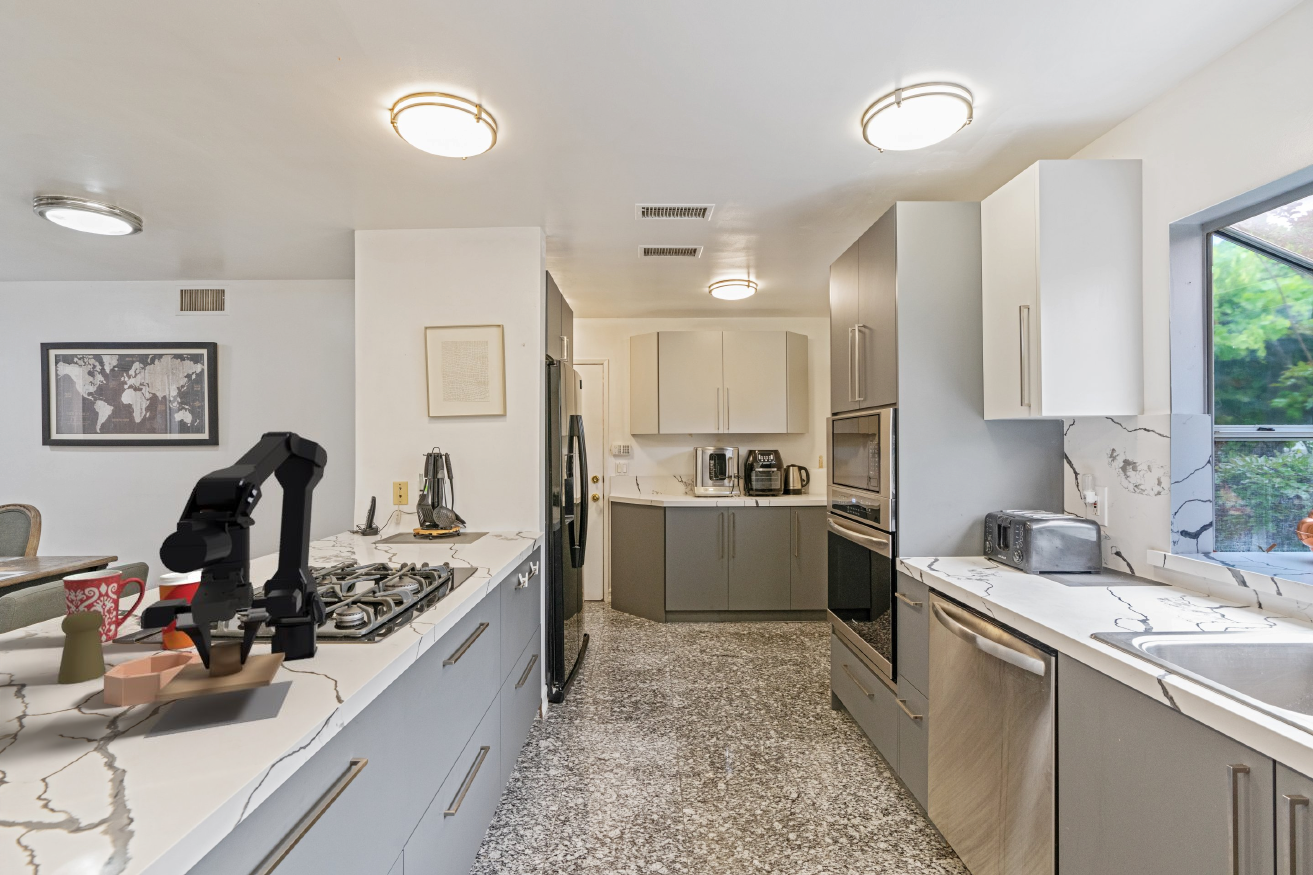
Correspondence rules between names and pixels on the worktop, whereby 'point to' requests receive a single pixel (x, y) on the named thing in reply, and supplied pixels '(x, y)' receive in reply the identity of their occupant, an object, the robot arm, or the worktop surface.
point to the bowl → (143, 678)
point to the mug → (100, 598)
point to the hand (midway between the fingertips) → (226, 666)
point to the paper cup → (177, 589)
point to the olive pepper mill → (82, 648)
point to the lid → (222, 673)
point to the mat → (222, 709)
